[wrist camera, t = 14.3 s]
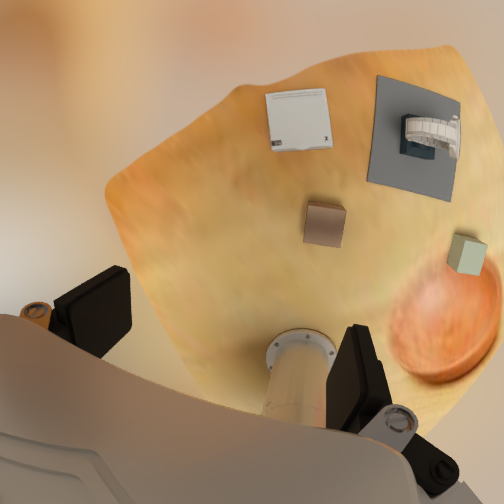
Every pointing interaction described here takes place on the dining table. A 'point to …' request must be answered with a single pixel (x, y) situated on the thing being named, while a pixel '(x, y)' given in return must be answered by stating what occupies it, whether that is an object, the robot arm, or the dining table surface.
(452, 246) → the sage block
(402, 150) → the watch
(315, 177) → the dining table surface
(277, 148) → the small box
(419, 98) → the slate mat
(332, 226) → the walnut block
